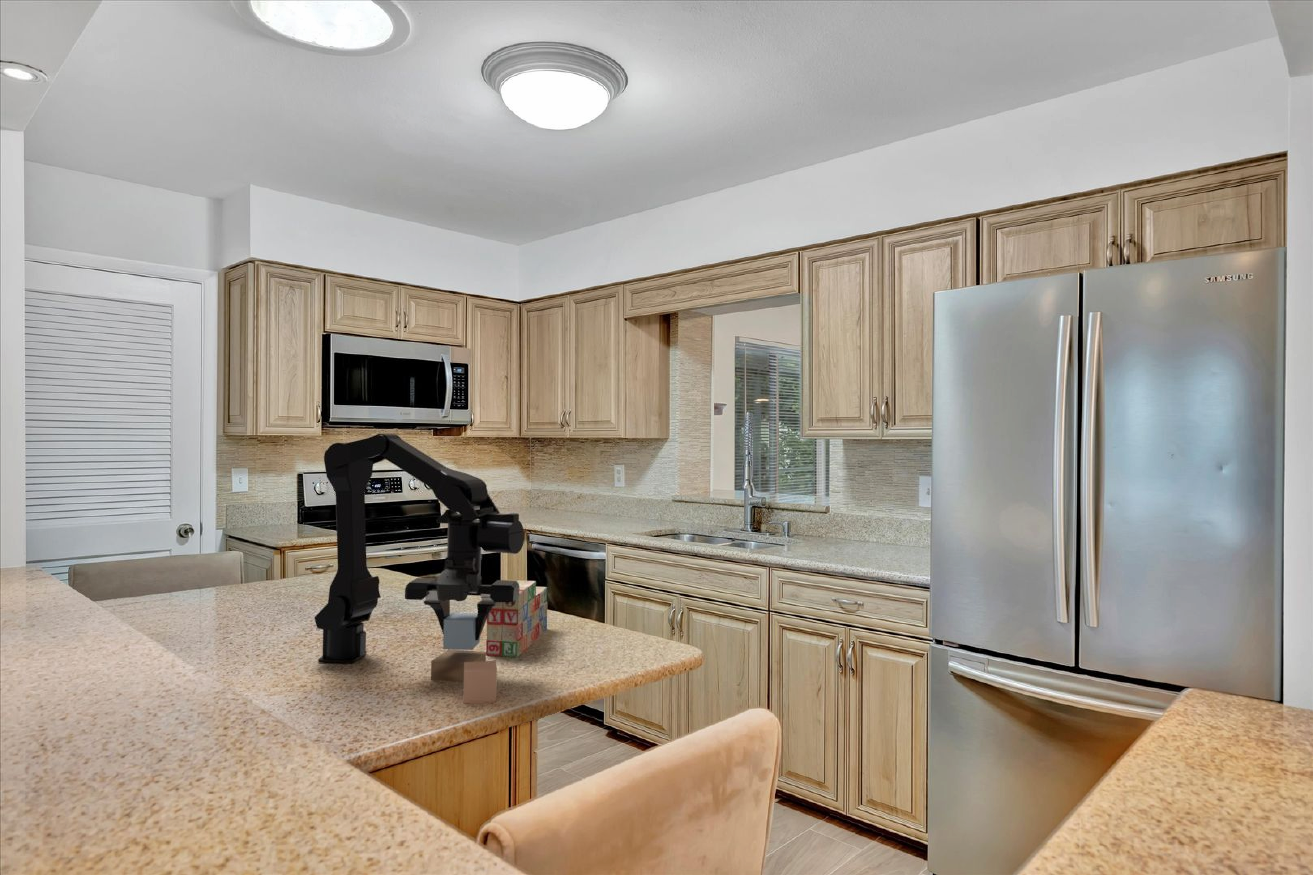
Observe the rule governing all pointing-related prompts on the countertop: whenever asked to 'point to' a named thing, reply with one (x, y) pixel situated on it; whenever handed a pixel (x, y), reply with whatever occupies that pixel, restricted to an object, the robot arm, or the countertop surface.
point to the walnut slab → (453, 664)
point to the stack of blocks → (517, 621)
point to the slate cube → (460, 631)
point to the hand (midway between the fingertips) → (462, 639)
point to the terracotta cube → (480, 681)
